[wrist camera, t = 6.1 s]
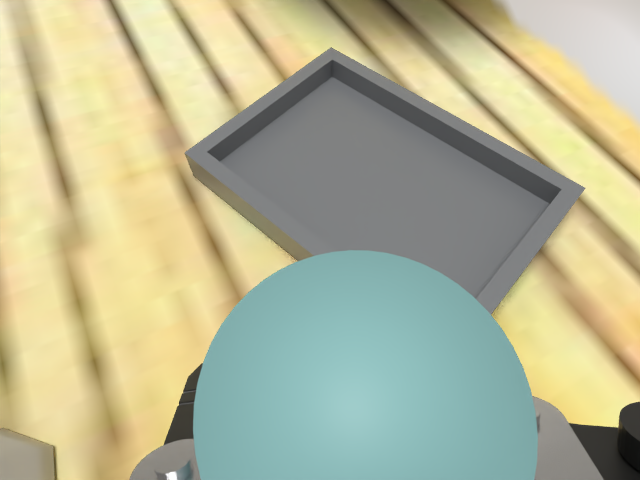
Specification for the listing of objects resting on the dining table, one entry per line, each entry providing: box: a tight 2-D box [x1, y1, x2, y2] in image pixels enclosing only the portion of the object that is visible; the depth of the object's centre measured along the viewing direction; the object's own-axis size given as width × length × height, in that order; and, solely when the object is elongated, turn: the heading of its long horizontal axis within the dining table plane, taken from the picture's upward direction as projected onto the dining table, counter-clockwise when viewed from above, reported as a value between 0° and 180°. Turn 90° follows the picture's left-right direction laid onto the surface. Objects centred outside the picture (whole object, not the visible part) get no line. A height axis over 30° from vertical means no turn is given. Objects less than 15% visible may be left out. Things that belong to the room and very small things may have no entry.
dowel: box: [193, 250, 538, 480], centre depth 9 cm, size 4×4×11 cm
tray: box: [185, 48, 585, 315], centre depth 28 cm, size 20×14×2 cm
